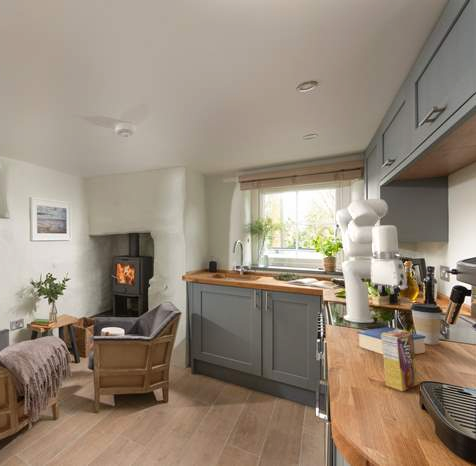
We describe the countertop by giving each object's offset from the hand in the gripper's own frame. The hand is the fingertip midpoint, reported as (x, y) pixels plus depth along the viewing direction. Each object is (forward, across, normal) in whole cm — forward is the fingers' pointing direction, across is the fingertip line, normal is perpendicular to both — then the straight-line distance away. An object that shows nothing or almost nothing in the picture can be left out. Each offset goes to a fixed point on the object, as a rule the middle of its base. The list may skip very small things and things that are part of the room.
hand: (389, 302), depth 114 cm
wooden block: (0, 0, 0) cm, 1 cm away
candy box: (+18, -22, +30) cm, 41 cm away
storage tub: (+18, -1, +2) cm, 18 cm away
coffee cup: (+18, 0, -20) cm, 27 cm away
